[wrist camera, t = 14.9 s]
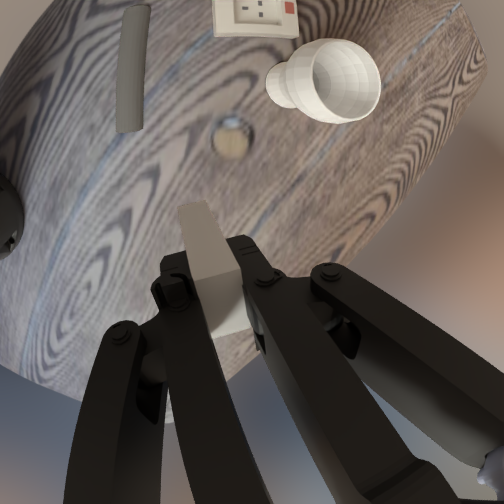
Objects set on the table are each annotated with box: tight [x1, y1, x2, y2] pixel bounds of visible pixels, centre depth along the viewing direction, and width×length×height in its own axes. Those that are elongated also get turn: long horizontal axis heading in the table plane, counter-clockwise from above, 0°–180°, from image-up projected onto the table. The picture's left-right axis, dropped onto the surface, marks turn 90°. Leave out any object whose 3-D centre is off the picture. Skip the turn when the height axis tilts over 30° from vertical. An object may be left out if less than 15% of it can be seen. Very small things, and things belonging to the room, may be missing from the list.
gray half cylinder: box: [116, 5, 151, 133], centre depth 27 cm, size 4×20×2 cm, turn 176°
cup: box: [266, 38, 381, 124], centre depth 29 cm, size 11×11×15 cm
